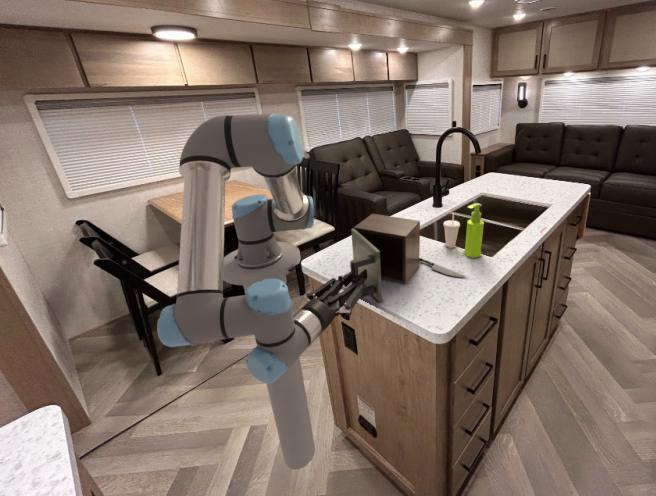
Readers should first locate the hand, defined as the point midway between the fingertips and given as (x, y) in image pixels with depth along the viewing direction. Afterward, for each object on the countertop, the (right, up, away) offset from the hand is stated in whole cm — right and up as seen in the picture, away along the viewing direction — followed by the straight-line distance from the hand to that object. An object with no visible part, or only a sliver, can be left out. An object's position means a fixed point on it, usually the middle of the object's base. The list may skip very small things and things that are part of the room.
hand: (361, 272), depth 94 cm
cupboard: (+7, -2, +18) cm, 19 cm away
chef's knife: (+25, -1, +16) cm, 30 cm away
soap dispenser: (+38, +2, +27) cm, 47 cm away
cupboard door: (-2, -6, +6) cm, 9 cm away
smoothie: (+31, +5, +34) cm, 46 cm away
